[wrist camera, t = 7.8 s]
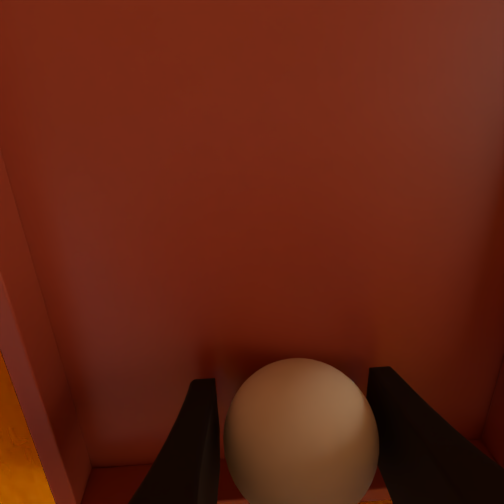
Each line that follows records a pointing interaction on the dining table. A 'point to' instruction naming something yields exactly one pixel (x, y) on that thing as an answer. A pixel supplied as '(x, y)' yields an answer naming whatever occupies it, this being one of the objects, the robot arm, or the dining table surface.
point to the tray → (245, 214)
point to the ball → (301, 436)
